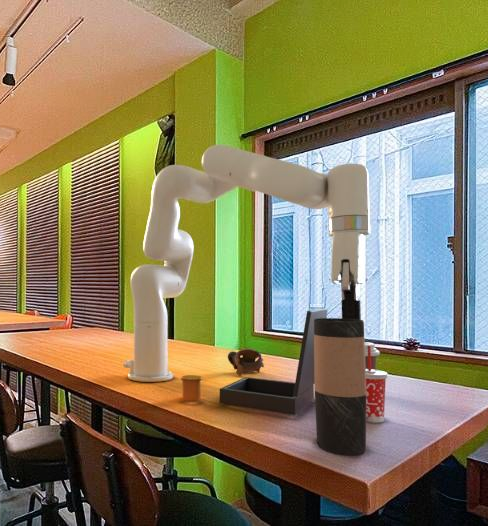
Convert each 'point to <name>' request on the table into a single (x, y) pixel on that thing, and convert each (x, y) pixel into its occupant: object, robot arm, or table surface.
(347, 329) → the travel mug
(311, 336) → the lid
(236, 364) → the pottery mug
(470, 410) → the table surface
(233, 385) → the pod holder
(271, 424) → the table surface
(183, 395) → the orange brown spool
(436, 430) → the table surface
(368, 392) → the beverage cup
